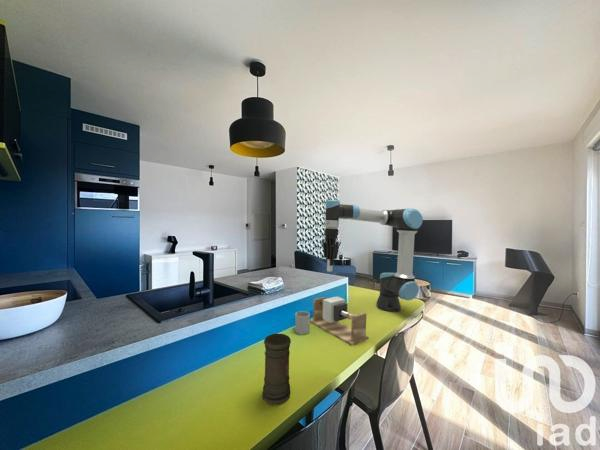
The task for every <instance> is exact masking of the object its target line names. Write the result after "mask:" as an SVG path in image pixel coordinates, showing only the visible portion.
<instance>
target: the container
mask: <svg viewBox="0 0 600 450" xmlns="http://www.w3.org/2000/svg"><path fill="white" fill-rule="evenodd" d="M291 342H292V339H291V338H290V336H289V335H287V334H285V333H272V334H269V335H267V336H266V337H265V338H264V340H263V344H264V349H265V351H264V355H265V356H264V357H265V358H264V360H265V361H264V377H263V381H264V383H263V387H262V398H263V400H264V401H265V403H267V404H269V405H271V406H277V405H282V404H284V403H285V402H287V401H288V400H289V399H290V396H291V385H290V353H291V352H290V346H291Z"/></svg>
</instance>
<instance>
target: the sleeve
mask: <svg viewBox="0 0 600 450" xmlns="http://www.w3.org/2000/svg"><path fill="white" fill-rule="evenodd" d="M345 301H346V299H345V298H342V297H340V296H332V297H327V299H323V319H325V320H327V321H328V322H330V323H331V322H334V305H337V304H341V303H346V302H345ZM341 310H342V309H341ZM339 315H340V314H339Z"/></svg>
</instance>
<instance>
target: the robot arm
mask: <svg viewBox="0 0 600 450" xmlns="http://www.w3.org/2000/svg"><path fill="white" fill-rule="evenodd" d="M324 209H325V218H324V232H323V233H324V235H325V236H324V239H321V243H322V251H323V257H324V258H326V272H329V273H330V272H333V267H334V261H335V260H336V259H337V258H338V253H339V249H340V246H341V244H342V241H339V240H338V236H339V227H340V225H339V224H340V220H341V219H342V220H352V221H362V222H371V223H377V224H378V223H379V224H380V225H383V226H387V227H388V226H389V227H392V228H396V232H398V247H397V248H398V250H397V262H396V263H397V264H396V265H397V268H396V272H382V273H380V275H379V295H378V299H377V301H376V308H378V309H380V310H381V311H386V312H393V313H395V312H400V311H402V304H401V303H400V302H401V301H400V299H402V300H405V301H412V300H414V299H415V298H416V297H418V294H419V290H420V287H419V285H418V283H417V282H415V281H416V277H415V275H414V274H413V270H414V268H413V267H414V253H415V237H416V236H415V235H416V234H417V233H418V231H419V228H421V226H422V224H423V221H424V219H423V216H422V215H423V214H422V213H421V212H420V211H419V210H417V209H416V208H401V209H399V208H397V209H390V210H389V209H382V210H375V209H366V208H360V206H358V205H357V204H356V205H354V204H341V202H340V200H339V199H328V200H326V202H325V208H324Z"/></svg>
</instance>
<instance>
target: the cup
mask: <svg viewBox="0 0 600 450" xmlns="http://www.w3.org/2000/svg"><path fill="white" fill-rule="evenodd" d="M310 316H311V314H310V312H308V311H305V310H304V311H301V310H300V311H297V312H295V317H294V320H295V322H294V323H295V324H294V325H295V328H294V329H295V330H294V332H295V333H296V334H298V335H307V334H309V333H310V323H311V322H310V318H311V317H310Z"/></svg>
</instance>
